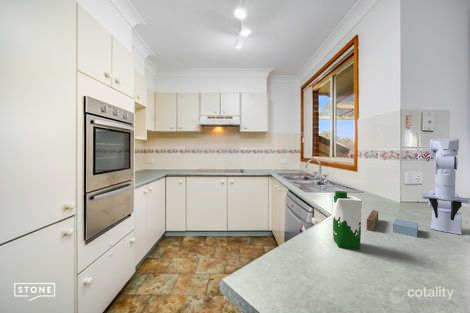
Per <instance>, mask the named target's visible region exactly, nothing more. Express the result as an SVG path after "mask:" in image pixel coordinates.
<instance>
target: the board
mask: <svg viewBox="0 0 470 313" xmlns="http://www.w3.org/2000/svg"><path fill="white" fill-rule="evenodd" d="M378 222H379V210H376V209H375V210H373V209H372V211H371V212H370V213H369V215H368V216H367V218H366V231H368V232H369V231H370V232H374V231H375V228H376V226H377V225H378Z"/></svg>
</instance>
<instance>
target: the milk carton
mask: <svg viewBox="0 0 470 313" xmlns="http://www.w3.org/2000/svg"><path fill="white" fill-rule="evenodd" d="M332 205H333V206H332V208H333V209H332V211H333V213H332V214H333V215H332V221H333V222H332V223H333V224H332V234H333V235H332V236H333V241H334V242H335V244H336V245H337V247H338V248H340V249H350V250H358V251H359V250H361V236H362V235H361V233H362V206H363V199H360V198H359V197H356V196H354V195H348V192H347V191H343V190H335V191H334V195H332Z"/></svg>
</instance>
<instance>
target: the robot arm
mask: <svg viewBox="0 0 470 313" xmlns="http://www.w3.org/2000/svg"><path fill="white" fill-rule="evenodd" d="M459 148H460V139H459V138H458V137H454V138H450V137H449V138H431V139H430V140H429V150H430V157H432V158H433V160H434V161H433V162H434V163H433V168H434V174H435V175H434V176H435V179H434V180H435V181H434V184H435V185H434V189H432V190H430V191H429V192H428V193H420V199H422V200H424V199H425V200H428V207H429V208H430V209H431V223H430V224H429V227H430V229H431V230H434V231H437V232H438V231H439V232H444V233H451V234H457V235H460V236H461V235H462V234H463V233H462V229H463V228H462V226H463V225H462V221H463V219H462V218H463V217H462V213H461V212H459V210H460V209H461V208H462V206H463V204H468V205H470V198H469V197H468V198H467V197H462V196H459V194H458V193H457V192H456V172H457V170H458V166H459V162H458V161H459V160H458V157H457V156H458V154H459Z"/></svg>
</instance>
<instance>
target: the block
mask: <svg viewBox="0 0 470 313" xmlns="http://www.w3.org/2000/svg"><path fill="white" fill-rule="evenodd" d="M392 233H395V234H400V235H405V236H409V237H414V238H418V234H419V222H416V221H409V220H405V219H404V220H403V219H398V218H395V219H394V221H393V223H392Z"/></svg>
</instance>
